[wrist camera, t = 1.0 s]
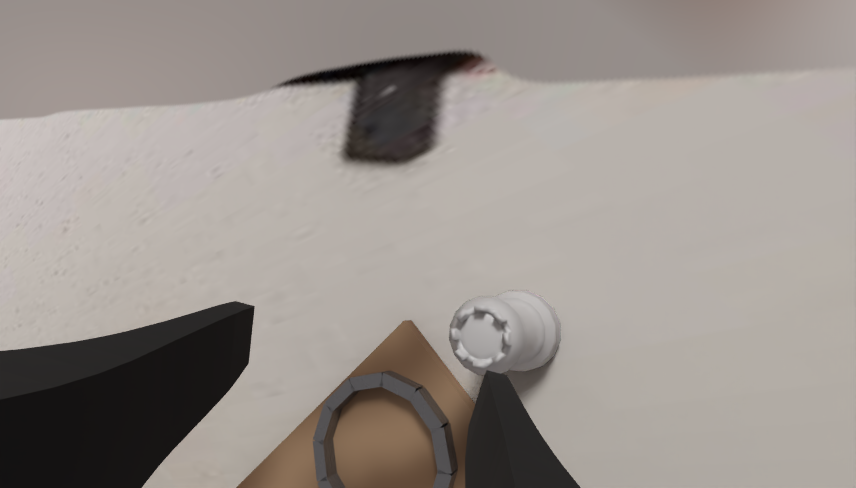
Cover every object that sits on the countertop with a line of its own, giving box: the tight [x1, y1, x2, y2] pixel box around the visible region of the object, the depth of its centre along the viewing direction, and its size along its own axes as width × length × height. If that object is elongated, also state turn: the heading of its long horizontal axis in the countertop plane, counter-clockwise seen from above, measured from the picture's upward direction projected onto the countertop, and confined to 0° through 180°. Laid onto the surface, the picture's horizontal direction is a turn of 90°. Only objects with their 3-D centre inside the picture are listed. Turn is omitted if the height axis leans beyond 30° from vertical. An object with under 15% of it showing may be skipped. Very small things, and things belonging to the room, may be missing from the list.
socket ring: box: [313, 370, 458, 488], centre depth 24 cm, size 9×9×1 cm
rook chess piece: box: [449, 290, 561, 375], centre depth 20 cm, size 4×4×8 cm
